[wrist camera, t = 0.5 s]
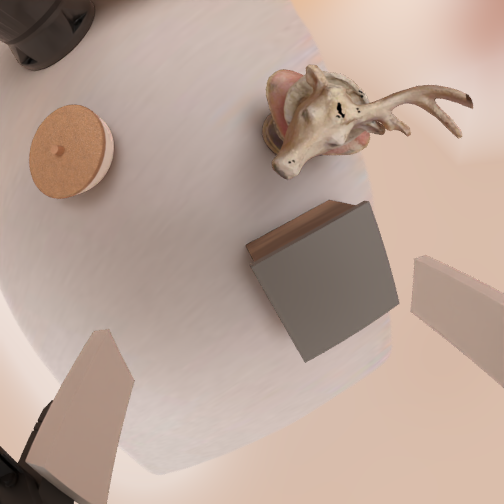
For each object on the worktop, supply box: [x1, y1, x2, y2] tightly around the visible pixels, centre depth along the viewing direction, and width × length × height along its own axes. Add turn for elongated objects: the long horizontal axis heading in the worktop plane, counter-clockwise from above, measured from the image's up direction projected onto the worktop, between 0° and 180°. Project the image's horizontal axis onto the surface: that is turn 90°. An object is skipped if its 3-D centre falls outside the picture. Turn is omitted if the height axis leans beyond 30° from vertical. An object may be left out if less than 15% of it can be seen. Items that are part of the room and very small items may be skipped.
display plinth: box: [246, 200, 399, 363], centre depth 33 cm, size 14×14×10 cm
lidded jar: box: [29, 105, 114, 199], centre depth 25 cm, size 11×11×9 cm
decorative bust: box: [262, 65, 473, 180], centre depth 21 cm, size 11×13×25 cm
